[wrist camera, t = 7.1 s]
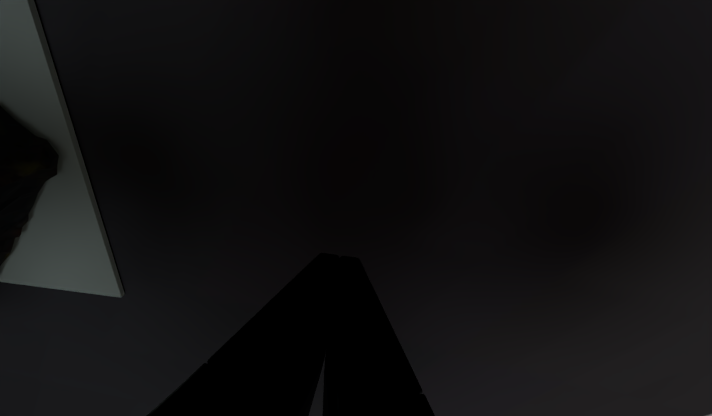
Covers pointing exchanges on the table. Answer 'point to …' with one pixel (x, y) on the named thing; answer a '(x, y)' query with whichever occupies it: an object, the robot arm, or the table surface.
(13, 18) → the mat
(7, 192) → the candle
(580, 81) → the table surface
